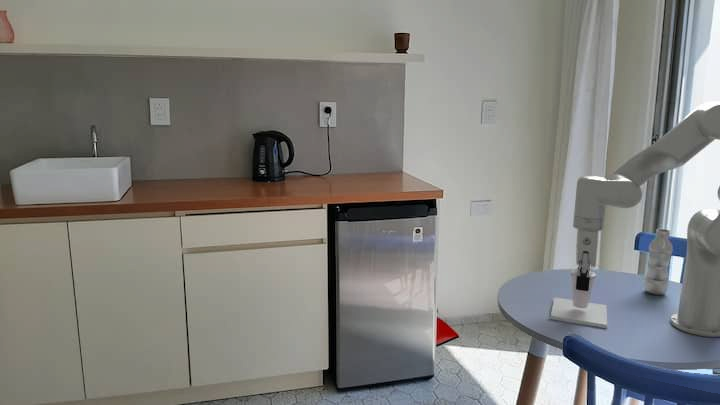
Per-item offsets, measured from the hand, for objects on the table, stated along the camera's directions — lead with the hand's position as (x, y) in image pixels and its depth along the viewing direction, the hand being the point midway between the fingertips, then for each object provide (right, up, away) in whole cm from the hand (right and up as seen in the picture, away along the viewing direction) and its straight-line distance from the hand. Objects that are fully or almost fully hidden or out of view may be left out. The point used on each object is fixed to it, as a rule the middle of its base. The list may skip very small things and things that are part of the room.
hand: (582, 285), depth 146 cm
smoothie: (0, -6, +1) cm, 6 cm away
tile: (0, -8, +2) cm, 8 cm away
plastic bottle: (+29, -5, +17) cm, 34 cm away
